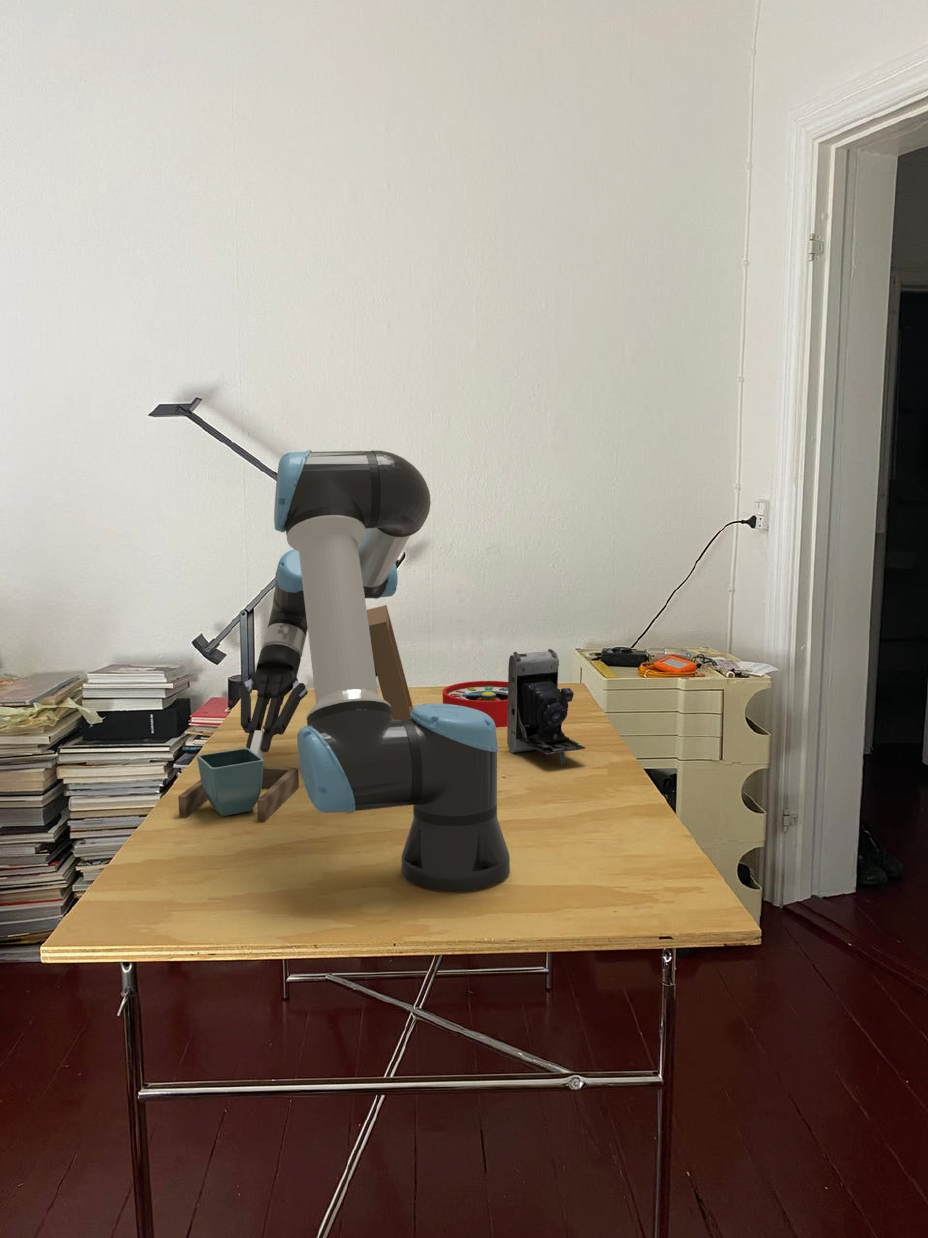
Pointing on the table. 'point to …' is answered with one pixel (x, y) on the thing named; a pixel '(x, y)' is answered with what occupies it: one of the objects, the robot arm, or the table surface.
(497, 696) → the toy clock
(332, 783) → the robot arm
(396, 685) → the photo frame
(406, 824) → the table surface
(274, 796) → the wooden tray rim
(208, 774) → the flower pot
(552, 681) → the vintage camera
